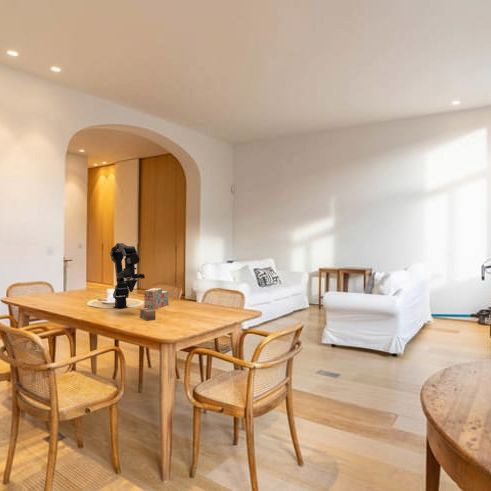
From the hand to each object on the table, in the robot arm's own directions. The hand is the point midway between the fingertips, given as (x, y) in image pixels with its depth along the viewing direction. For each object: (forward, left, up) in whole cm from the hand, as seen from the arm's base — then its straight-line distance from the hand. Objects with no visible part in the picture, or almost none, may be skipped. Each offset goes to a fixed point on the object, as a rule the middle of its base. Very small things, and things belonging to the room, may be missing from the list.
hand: (131, 292), depth 235 cm
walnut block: (+14, -6, -10) cm, 18 cm away
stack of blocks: (+1, +25, -13) cm, 28 cm away
